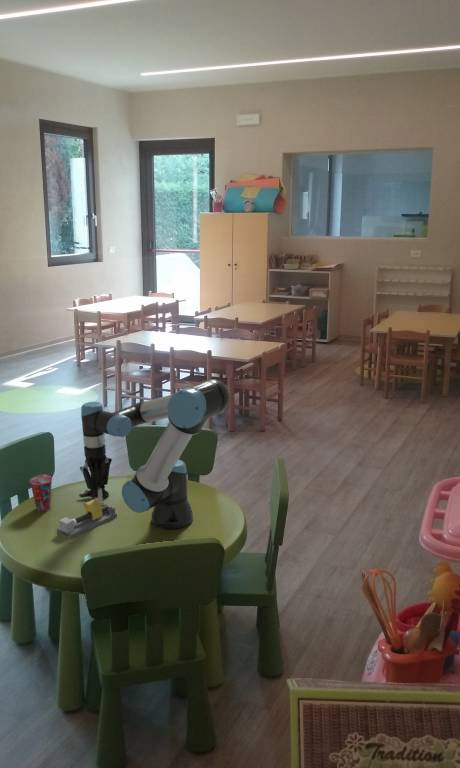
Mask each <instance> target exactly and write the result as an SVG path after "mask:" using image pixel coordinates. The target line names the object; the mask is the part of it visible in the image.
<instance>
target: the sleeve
mask: <svg viewBox="0 0 460 768" xmlns="http://www.w3.org/2000/svg"><path fill="white" fill-rule="evenodd" d="M90 500H91V499H90ZM90 500H89V501H87V502H85V503H84V506H85V514H87V513H90V512H91V513H92V520H96V519H98V518H100V517H102V503H101V502H99V501H96V500H91V501H90Z"/></svg>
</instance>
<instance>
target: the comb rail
mask: <svg viewBox="0 0 460 768" xmlns="http://www.w3.org/2000/svg"><path fill="white" fill-rule="evenodd" d="M117 517H118V513H116V507H114V506H112V505H110V506H109V505H107V503H104V502H103V505H102V517H100V518H98V519H96V520H92V513H91V512H90V513H87V514H86V513H85V514H83V515H81V516H79V517H76V518H69V517H67V516H65V517H63V518H60V519H58V524H59V525H58V526H59V527H57V528H56V532H58V533H60V534H61V535H64V536H65V537H67V538H70V539H72V538H74V537H76V536H78V535H81V534H83V533H84V532H87V531H89V530H91V529H94V528H96V527H98V526H99V525H102V524H104V523H106V522H109V521H111V520H113V519H115V518H117Z"/></svg>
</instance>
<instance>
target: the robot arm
mask: <svg viewBox="0 0 460 768" xmlns="http://www.w3.org/2000/svg"><path fill="white" fill-rule="evenodd" d="M230 398H231V397H230V392H229V389H228V387H227V386H226V384H224V383H223V382H222V381H221V380H219V379H216V378H215V379H211V378H210V379H206V380H205V379H204V380H203V381H201V382H197V383H195V384H193V385H191V386H188V387H182V388H180V389H179V390H178V391H176V392H174V393H173V394H169V395H165V396H162V397H157V398H154V399H149V400H145V401H139V402H136V403H134V404H132V405H130V406H127V407H124V408H121V409H119V410H117V411H113V412H111V411H106V410H104V407H103V404H102V403H101V402H99V401H89V402H84V403H83V404H82V405H81V407H80V410H81V411H80V412H81V413H80V415H81V416H80V417H81V426H82V437H83V445H84V447H83V452H84V458H85V461H84V464H83V465H82V466H80V467H79V470H80V471H81V472H82V475H83V478H84V481H85V484H86V487H87V490H93V497H94V498H95V500H96V501H99V502H101V503H102V505H103V503H104V502H103V501H104V500H103V498H102V496H103V494H104V492H103V489H104V488H106V486H107V485H108V483H109V475H110V467H111V464H112V461H113V459H112V458H110V457H107V455H106V439H105V437H106V436H105V434H106V435H110V436H112V437H117V438H118V437H119V438H125V437H126V436H127V435H128V434H129V433H130V432H131V429H133V428H135V427H138V426H140V425H142V424H143V425H144V424H147V423H151V422H155V421H156V422H157V421H159V420H164V419H168V423H167V425H166V427H165V429H164V431H163V433H162V434H161V436H160V438H159V440H158V442H157V443H156V445H155V447H154V449H153V451H152V452H151V454H150V456H149V458H148V459H147V462H146V464H143V465H141V466H139V467H138V469H137V470H136V472H135V474H134V476H133V477H132V478H131V480H127V481H126V482H125V483H124V484H123V485H122V487H121V496H122V499H123V501H124V503H125V504H126V506H127V508H128V509H130V510H131V511H132V512H135V513H138V514H142V513H144V512H149V510H150V509H152V508H153V511H152V512H151V523H152V525H153V526H154V527H157V528H160V529H164V530H176V529H181V528H184V527H187V526H189V525H190V524H191V523H193V520H194V513H193V509H192V508H191V507H192V506H191V504H190V502H189V499H188V476H187V475H188V474H187V473H188V471H187V465H186V462H184V461H183V460H182V459H180V457H181V455H182V454H183V452H184V451H185V449H186V447H187V445H188V444H189V442H190V440H191V439H192V436H194V435H198V434H199V433H200V432H201V431H202V429H203V427H204V426H205V424H206V423H207V421H208V420H209V419H211V418H213V417H215V416H217V415H219V414H221V413H222V412H224V411H225V409H226V408H227V407H228V405H229V403H230ZM93 497H92V498H93Z"/></svg>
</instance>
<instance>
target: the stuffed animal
mask: <svg viewBox="0 0 460 768" xmlns="http://www.w3.org/2000/svg"><path fill="white" fill-rule="evenodd" d="M105 488H106V487H105ZM105 488H104V489H103V492H104V494H103V496H102V498H103V501H105V500H106V499H107V498H109V497H110V493H109V492H108V491H107V490H106V489H105ZM78 497H80V498H82V499H83V498H86V501H88V500H89V501H91V500H95V498H94V497H93V490H90V489H85V490H84V492H83V493H79V494H78ZM87 497H88V498H87Z"/></svg>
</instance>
